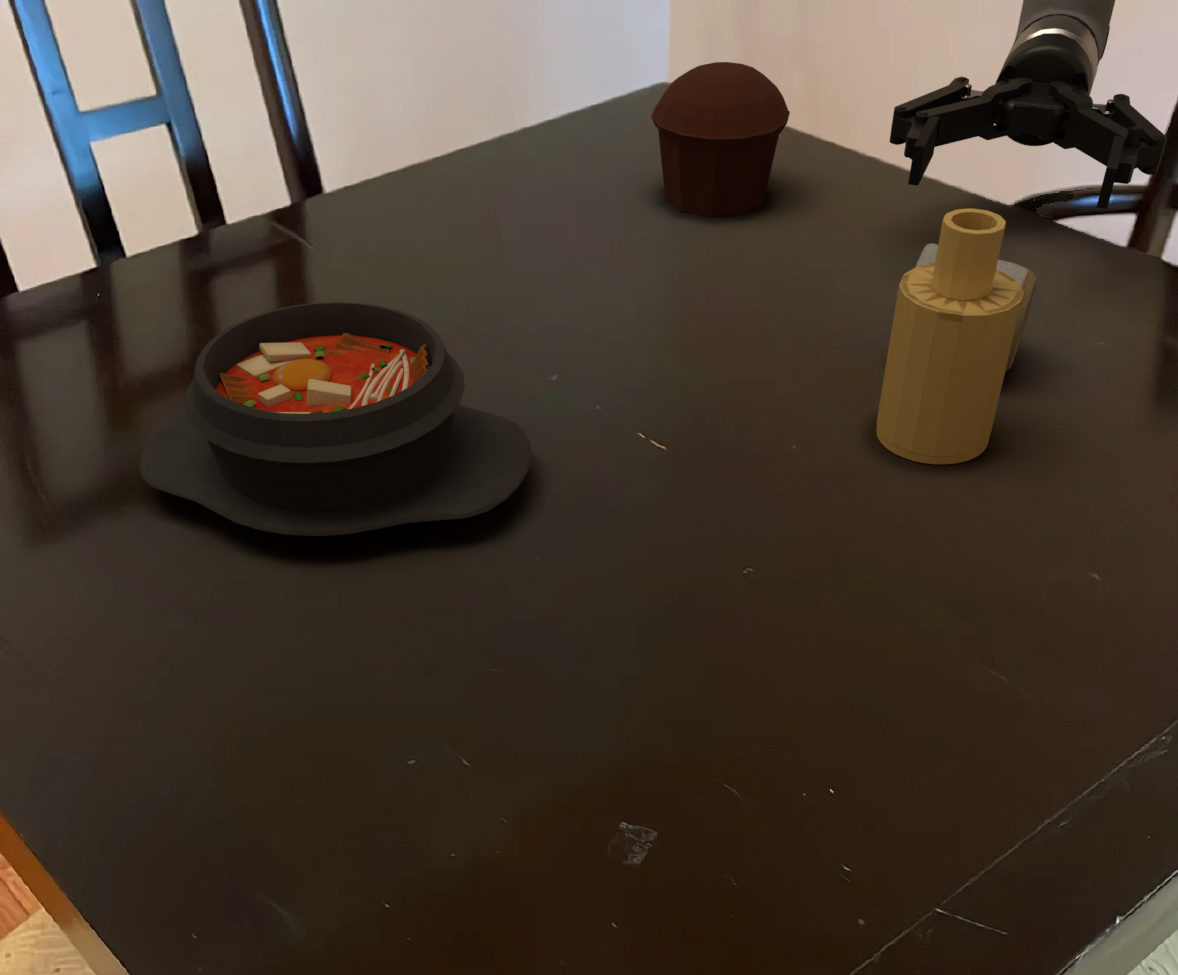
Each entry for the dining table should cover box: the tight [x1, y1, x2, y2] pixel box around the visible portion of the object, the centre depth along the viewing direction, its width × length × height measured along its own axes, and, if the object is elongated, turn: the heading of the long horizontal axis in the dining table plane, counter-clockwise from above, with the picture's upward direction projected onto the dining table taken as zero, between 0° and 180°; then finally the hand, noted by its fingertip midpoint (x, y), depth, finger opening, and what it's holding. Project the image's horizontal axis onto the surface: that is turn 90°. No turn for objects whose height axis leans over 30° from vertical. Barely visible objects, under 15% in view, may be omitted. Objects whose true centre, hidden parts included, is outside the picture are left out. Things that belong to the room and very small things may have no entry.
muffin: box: [650, 61, 791, 218], centre depth 114 cm, size 12×11×10 cm
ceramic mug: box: [915, 242, 1038, 373], centre depth 95 cm, size 11×8×8 cm
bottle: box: [875, 208, 1024, 465], centre depth 84 cm, size 7×7×14 cm
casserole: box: [138, 301, 532, 537], centre depth 83 cm, size 25×19×8 cm
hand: (1009, 177), depth 97 cm, fingers open, 13 cm apart
